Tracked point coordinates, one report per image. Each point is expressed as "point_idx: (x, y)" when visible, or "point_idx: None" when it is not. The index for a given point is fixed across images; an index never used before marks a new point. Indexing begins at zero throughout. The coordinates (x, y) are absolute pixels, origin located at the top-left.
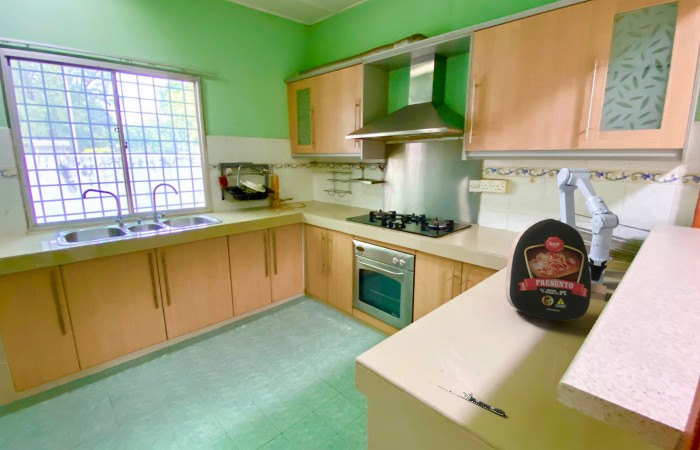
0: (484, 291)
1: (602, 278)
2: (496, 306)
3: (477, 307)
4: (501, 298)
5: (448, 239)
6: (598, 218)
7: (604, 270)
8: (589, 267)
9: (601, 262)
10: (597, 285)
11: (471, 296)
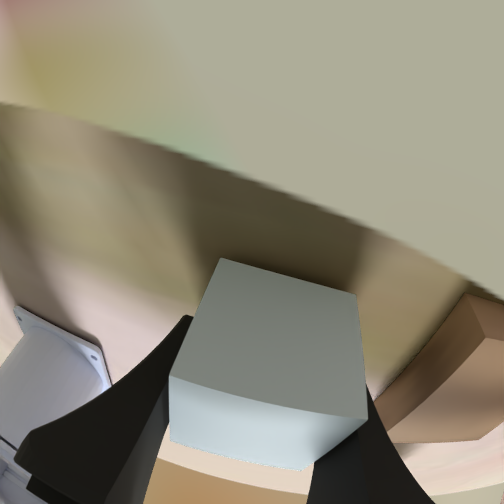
0: (428, 491)
1: (358, 365)
2: (497, 469)
3: (493, 476)
4: (467, 476)
5: None
6: None
7: (200, 386)
8: (176, 441)
9: (131, 485)
10: (469, 380)
11: (450, 490)
